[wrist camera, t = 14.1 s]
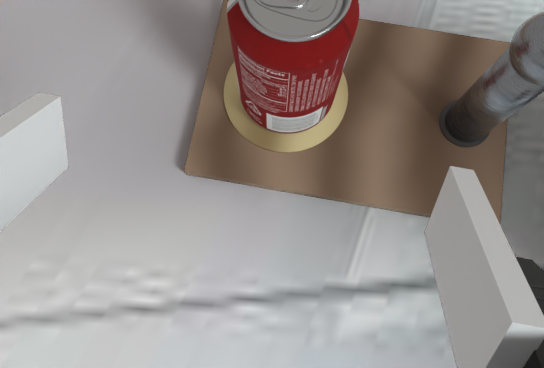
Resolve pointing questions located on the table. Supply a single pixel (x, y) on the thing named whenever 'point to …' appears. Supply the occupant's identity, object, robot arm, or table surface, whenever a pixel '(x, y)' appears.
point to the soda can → (290, 58)
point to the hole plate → (359, 124)
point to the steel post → (502, 85)
